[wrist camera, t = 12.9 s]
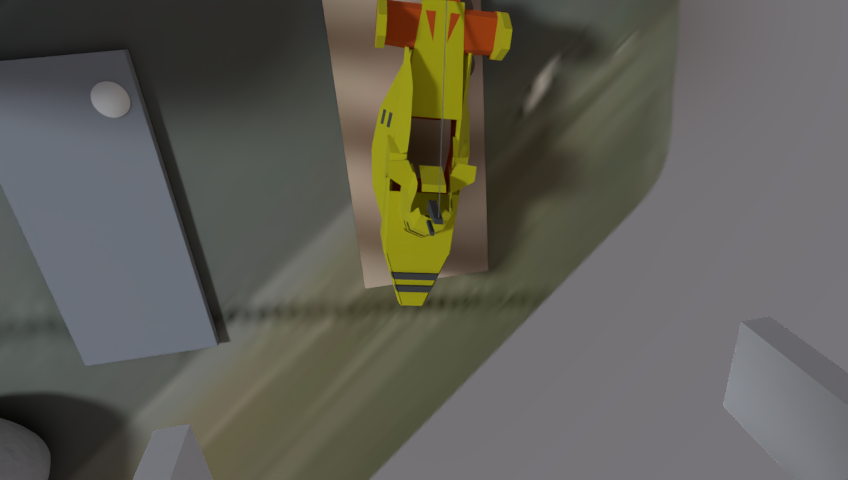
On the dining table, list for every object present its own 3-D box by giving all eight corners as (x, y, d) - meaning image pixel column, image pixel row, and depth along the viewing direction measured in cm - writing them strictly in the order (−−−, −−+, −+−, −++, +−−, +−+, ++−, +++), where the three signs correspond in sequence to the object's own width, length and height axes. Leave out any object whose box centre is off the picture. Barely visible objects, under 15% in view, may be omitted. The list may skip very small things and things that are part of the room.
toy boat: (487, -6, 29) (548, -10, 20) (448, 271, 36) (480, 360, 27) (375, -19, 28) (386, -31, 19) (358, 269, 35) (360, 359, 26)
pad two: (318, -28, 28) (317, -29, 27) (477, -41, 29) (480, -42, 28) (364, 284, 36) (365, 289, 36) (486, 267, 37) (488, 271, 37)
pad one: (-47, 65, 27) (-56, 66, 26) (128, 49, 28) (123, 49, 27) (89, 360, 36) (84, 367, 35) (219, 341, 37) (217, 347, 36)
